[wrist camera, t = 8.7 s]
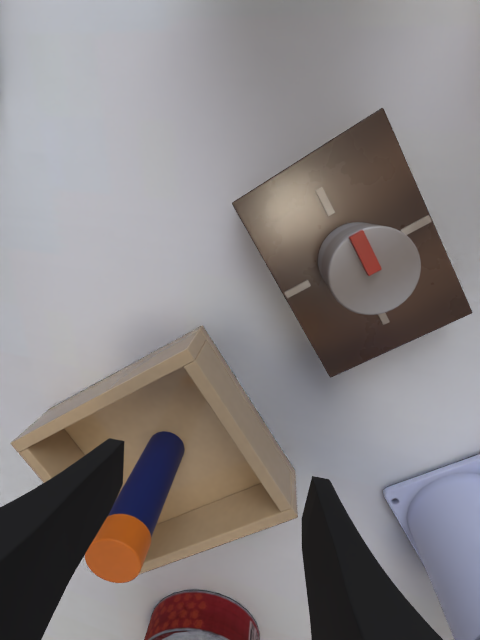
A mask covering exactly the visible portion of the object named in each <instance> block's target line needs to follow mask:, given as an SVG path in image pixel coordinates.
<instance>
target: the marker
mask: <svg viewBox="0 0 480 640" xmlns="http://www.w3.org/2000/svg"><path fill="white" fill-rule="evenodd" d="M184 451H185V448H184V444H183V442H182V440H181V439H180V438H179V437H178V436H177V435H175V434H173V433H171V432H167V431H162V432H158V433H156V434H154V435H153V436H152V437H151V438H150V440H149V442H148V443H147V445H146V447H145V449H144V451H143V452H142V454H141V456H140V458H139V460H138V461H137V463H136V465H135V467H134V468H133V470H132V472H131V474H130V476H129V477H128V479H127V481H126V483H125V484H124V486H123V488H122V490H121V492H120V493H119V495H118V497H117V499H116V501H115V503H114V505H113V507H112V509H111V511H110V513H109V514H108V516H107V518H106V520H105V521H104V523H103V525H102V526H101V528H100V530H99V531H98V533H97V535H96V536H95V538H94V540H93V541H92V543H91V545H90V547H89V548H88V550H87V552H86V553H85V560H86V563H87V565H88V567H89V568H90V569H91V571H92V572H93V573H95V574H96V575H97V576H99V577H100V578H102V579H104V580H107V581H110V582H115V583H124V582H129V581H131V580H133V579H134V578H136V577H137V576H138V574H139V573H140V571H141V568H142V566H143V563H144V561H145V558H146V555H147V553H148V550H149V548H150V545H151V537H152V534H153V532H154V529H155V527H156V524H157V522H158V519H159V516H160V514H161V511H162V509H163V506H164V504H165V501H166V498H167V496H168V493H169V491H170V488H171V486H172V483H173V480H174V478H175V475H176V473H177V470H178V468H179V465H180V462H181V460H182V457H183V455H184Z"/></svg>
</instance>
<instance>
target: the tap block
mask: <svg viewBox="0 0 480 640" xmlns="http://www.w3.org/2000/svg"><path fill="white" fill-rule="evenodd" d="M232 205H233V206H234V208H235V210H236V212H237V213H238V215H239V217H240V219H241V221H242V222H243V224H244V226H245V228H246V229H247V231H248V233H249V235H250V236H251V238H252V240H253V242H254V244H255V245H256V247H257V249H258V251H259V252H260V254H261V256H262V258H263V259H264V261H265V263H266V265H267V267H268V268H269V270H270V272H271V274H272V275H273V277H274V279H275V281H276V282H277V284H278V286H279V288H280V290H281V291H282V293H283V295H284V297H285V298H286V300H287V302H288V304H289V305H290V307H291V309H292V311H293V313H294V314H295V316H296V318H297V320H298V321H299V323H300V325H301V327H302V329H303V330H304V332H305V334H306V336H307V337H308V339H309V341H310V343H311V344H312V346H313V348H314V350H315V352H316V353H317V355H318V357H319V359H320V360H321V362H322V364H323V366H324V367H325V369H326V371H327V373H328V375H329V376H330V377H333V376H335V375H337V374H340V373H342V372H344V371H346V370H348V369H351V368H353V367H355V366H357V365H359V364H362V363H364V362H366V361H368V360H370V359H372V358H375V357H377V356H379V355H381V354H383V353H386V352H388V351H390V350H392V349H394V348H397V347H399V346H401V345H403V344H405V343H408V342H410V341H412V340H414V339H416V338H419V337H421V336H423V335H425V334H427V333H430V332H432V331H434V330H436V329H438V328H441V327H443V326H445V325H447V324H449V323H452V322H454V321H456V320H458V319H460V318H463V317H465V316H467V315H469V314H471V313H472V310H471V308H470V306H469V303H468V301H467V299H466V297H465V294H464V292H463V290H462V287H461V285H460V283H459V281H458V278H457V276H456V274H455V271H454V269H453V267H452V265H451V262H450V260H449V258H448V255H447V253H446V251H445V248H444V246H443V244H442V242H441V239H440V237H439V235H438V232H437V230H436V228H435V226H434V223H433V221H432V219H431V216H430V214H429V212H428V210H427V207H426V205H425V203H424V200H423V198H422V196H421V194H420V191H419V189H418V187H417V184H416V182H415V180H414V178H413V175H412V173H411V171H410V168H409V166H408V164H407V162H406V159H405V157H404V155H403V152H402V150H401V148H400V146H399V143H398V141H397V139H396V136H395V134H394V132H393V130H392V127H391V125H390V123H389V120H388V118H387V116H386V114H385V111H384V109H383V108H381V109H379V110H378V111H376V112H375V113H373V114H371V115H370V116H368V117H367V118H365V119H364V120H362V121H360V122H359V123H357V124H356V125H354V126H353V127H351V128H349V129H348V130H346V131H345V132H343V133H341V134H340V135H338V136H337V137H335V138H334V139H332V140H330V141H329V142H327V143H326V144H324V145H323V146H321V147H319V148H318V149H316V150H315V151H313V152H312V153H310V154H308V155H307V156H305V157H304V158H302V159H300V160H299V161H297V162H296V163H294V164H293V165H291V166H289V167H288V168H286V169H285V170H283V171H282V172H280V173H278V174H277V175H275V176H274V177H272V178H270V179H269V180H267V181H266V182H264V183H263V184H261V185H259V186H258V187H256V188H255V189H253V190H252V191H250V192H248V193H247V194H245V195H244V196H242V197H241V198H239V199H237V200H236V201H234V202H233V203H232ZM352 222H363V223H369V224H375V225H381V226H387V227H391V228H394V229H397V230H399V231H401V232H403V233H404V234H405V235H407V236H408V237H409V238H410V239H411V240H412V242H413V243H414V244H415V246H416V248H417V250H418V253H419V256H420V261H421V271H420V277H419V280H418V283H417V285H416V287H415V289H414V291H413V292H412V294H411V295H410V296H409V297H408V298H407V300H405V301H404V302H403V303H402V304H401V305H399V306H398V307H396V308H394V309H393V310H390V311H388V312H385V313H382V314H376V315H364V314H359V313H355V312H352V311H350V310H348V309H347V308H345V307H344V306H342V305H341V304H340V303H339V302H338V301H337V300H336V298H335V297H334V295H333V294H332V292H331V291H330V289H329V287H328V286H327V284H326V283H325V281H324V279H323V278H322V276H321V274H320V271H319V267H318V254H319V250H320V248H321V245H322V243H323V242H324V240H325V239H326V237H327V236H328V235H329V234H330V233H331V232H332V231H333V230H335V229H336V228H338V227H340V226H342V225H345V224H347V223H352Z"/></svg>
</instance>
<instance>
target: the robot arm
mask: <svg viewBox="0 0 480 640" xmlns="http://www.w3.org/2000/svg"><path fill="white" fill-rule="evenodd" d="M123 467H124V441H122V440H116V439H111V438H109V439H107V440H106V441H104V442H103V443H101V444H100V445H99V446H97V447H96V448H95V449H93V450H92V451H90V452H89V453H88V454H86V455H85V456H83V457H82V458H81V459H79V460H78V461H76V462H75V463H73V464H72V465H71V466H69V467H68V468H66V469H65V470H63V471H62V472H60V473H59V474H57V475H56V476H54V477H53V478H51V479H50V480H48V481H46V482H45V483H43V484H42V485H40V486H38V487H37V488H35V489H33V490H32V491H30V492H28V493H27V494H25V495H23V496H21V497H19V498H17V499H16V500H14V501H12V502H10V503H8V504H6V505H4V506H2V507H0V640H41V639H42V637H43V635H44V632H45V630H46V628H47V626H48V624H49V622H50V620H51V618H52V615H53V613H54V611H55V609H56V607H57V605H58V603H59V601H60V599H61V597H62V595H63V593H64V591H65V589H66V587H67V585H68V583H69V581H70V579H71V577H72V575H73V574H74V572H75V570H76V568H77V567H78V565H79V563H80V562H81V560H82V558H83V557H84V555H85V553H86V552H87V550H88V548H89V547H90V545H91V543H92V541H93V540H94V538H95V536H96V535H97V533H98V531H99V530H100V528H101V526H102V525H103V523H104V521H105V520H106V518H107V516H108V514H109V513H110V511H111V509H112V507H113V505H114V503H115V500H116V498H117V496H118V494H119V491H120V489H121V487H122V485H123ZM383 494H384V497H385V499H386V501H387V503H388V504H389V506H390V508H391V509H392V511H393V513H394V515H395V516H396V518H397V520H398V522H399V523H400V525H401V527H402V529H403V530H404V532H405V534H406V536H407V537H408V539H409V541H410V542H411V544H412V546H413V548H414V549H415V551H416V553H417V555H418V556H419V558H420V560H421V562H422V563H423V565H424V567H425V569H426V571H427V573H428V576H429V578H430V581H431V583H432V585H433V588H434V590H435V593H436V595H437V598H438V600H439V603H440V605H441V608H442V610H443V612H444V615H445V617H446V620H447V622H448V625H449V627H450V630H451V632H452V635H453V637H454V639H455V640H480V454H479V455H476V456H473V457H470V458H467V459H465V460H462V461H459V462H456V463H453V464H451V465H448V466H445V467H442V468H439V469H437V470H434V471H431V472H428V473H425V474H423V475H420V476H417V477H414V478H411V479H409V480H406V481H403V482H400V483H397V484H395V485H392V486H389V487H387V488H385V489H384V491H383ZM394 498H396V499H395V500H392V499H394ZM302 553H303V562H304V571H305V579H306V588H307V596H308V605H309V613H310V623H311V635H312V640H443V639H442V638H441V637H440V636H439V635H438V634H437V633H436V632H435V631H434V630H433V629H432V628H431V627H430V625H429V624H428V623H427V622H426V621H425V620H424V619H423V618H422V617H421V615H420V614H419V613H418V612H417V611H416V610H415V609H414V607H413V606H412V605H411V604H410V603H409V602H408V601H407V599H406V598H405V597H404V596H403V595H402V593H401V592H400V591H399V590H398V588H397V587H396V586H395V585H394V583H393V582H392V581H391V579H390V578H389V577H388V575H387V574H386V573H385V571H384V570H383V569H382V567H381V566H380V564H379V563H378V562H377V560H376V559H375V557H374V556H373V554H372V553H371V551H370V550H369V548H368V547H367V545H366V544H365V542H364V540H363V539H362V537H361V536H360V534H359V532H358V531H357V529H356V527H355V526H354V524H353V522H352V521H351V519H350V517H349V515H348V514H347V512H346V510H345V508H344V506H343V505H342V503H341V501H340V499H339V497H338V495H337V493H336V491H335V489H334V487H333V485H332V483H331V482H330V480H329V479H324V478H319V477H313V476H312V480H311V484H310V488H309V492H308V496H307V500H306V504H305V508H304V512H303V516H302Z"/></svg>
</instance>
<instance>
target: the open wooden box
mask: <svg viewBox="0 0 480 640" xmlns="http://www.w3.org/2000/svg"><path fill="white" fill-rule="evenodd" d="M162 431H167V432H171V433H173V434H175V435H177V436H178V437H179V438H180V439H181V440H182V442H183V444H184V448H185V451H184V455H183V457H182V460H181V462H180V465H179V468H178V470H177V473H176V475H175V478H174V480H173V483H172V486H171V488H170V491H169V493H168V496H167V498H166V501H165V504H164V506H163V509H162V511H161V514H160V516H159V519H158V522H157V524H156V527H155V529H154V532H153V534H152V537H151V545H150V548H149V550H148V553H147V555H146V558H145V561H144V563H143V566H142V568H141V571H140V573H139V574H142V573H144V572H147V571H150V570H153V569H156V568H158V567H161V566H164V565H167V564H170V563H172V562H175V561H178V560H181V559H183V558H186V557H189V556H192V555H195V554H197V553H200V552H203V551H206V550H209V549H211V548H214V547H217V546H220V545H222V544H225V543H228V542H231V541H234V540H236V539H239V538H242V537H245V536H248V535H250V534H253V533H256V532H259V531H261V530H264V529H267V528H270V527H273V526H275V525H278V524H281V523H284V522H287V521H289V520H292V519H295V518H297V517H298V512H297V496H296V480H295V479H296V477H295V470H294V469H293V467H292V466H291V464H290V462H289V461H288V459H287V458H286V456H285V455H284V453H283V451H282V450H281V448H280V447H279V445H278V444H277V442H276V440H275V439H274V437H273V436H272V434H271V432H270V431H269V429H268V428H267V426H266V425H265V423H264V421H263V420H262V418H261V417H260V415H259V414H258V412H257V410H256V409H255V407H254V406H253V404H252V403H251V401H250V399H249V398H248V396H247V395H246V393H245V392H244V390H243V388H242V387H241V385H240V384H239V382H238V381H237V379H236V377H235V376H234V374H233V373H232V371H231V370H230V368H229V366H228V365H227V363H226V362H225V360H224V359H223V357H222V355H221V354H220V352H219V351H218V349H217V348H216V346H215V344H214V343H213V341H212V340H211V338H210V337H209V335H208V333H207V332H206V330H205V329H204V327H203V326H200V327H198V328H196V329H195V330H193V331H191V332H189V333H187V334H185V335H184V336H182V337H180V338H178V339H176V340H175V341H173V342H171V343H169V344H167V345H165V346H164V347H162V348H160V349H158V350H156V351H154V352H153V353H151V354H149V355H147V356H145V357H143V358H142V359H140V360H138V361H136V362H134V363H133V364H131V365H129V366H127V367H125V368H123V369H122V370H120V371H118V372H116V373H114V374H112V375H111V376H109V377H107V378H105V379H103V380H101V381H100V382H98V383H96V384H94V385H92V386H91V387H89V388H87V389H85V390H83V391H81V392H80V393H78V394H76V395H74V396H72V397H70V398H69V399H67V400H65V401H63V402H61V403H60V404H58V405H56V406H54V407H52V408H50V409H49V410H48V411H47V412H45V413H44V414H43V415H42V416H41V417H40V418H39V419H37V420H36V421H35V422H34V423H33V424H32V425H31V426H29V427H28V428H27V429H26V430H25V431H24V432H22V433H21V434H20V435H19V436H18V437H17V438H16V439H14V440H13V441H12V442H11V445H12V446H13V447H14V448H15V450H16V451H17V452H19V454H20V455H21V456H22V458H23V459H24V460H25V461H26V462H27V464H28V465H29V466H30V467H31V468H32V470H33V471H34V472H35V473H36V474H37V475H38V477H39V478H40V479H41V480H42V481H43V483H45V482H46V481H48V480H50V479H51V478H53V477H54V476H56V475H57V474H59V473H60V472H62V471H63V470H65V469H66V468H68V467H69V466H71V465H72V464H73V463H75V462H76V461H78V460H79V459H81V458H82V457H83V456H85V455H86V454H88V453H89V452H90V451H92V450H93V449H95V448H96V447H97V446H99V445H100V444H101V443H103V442H104V441H106V440H107V439H109V438H111V439H116V440H122V441H124V467H123V485H122V487H121V489H120V491H119V493H120V492H121V490H122V488H123V486H124V484H125V483H126V481H127V479H128V477H129V476H130V474H131V472H132V470H133V468H134V467H135V465H136V463H137V461H138V460H139V458H140V456H141V454H142V452H143V451H144V449H145V447H146V445H147V443H148V442H149V440H150V438H151V437H152V436H153V435H154V434H156V433H158V432H162ZM118 495H119V494H118ZM117 497H118V496H117ZM116 499H117V498H116ZM115 501H116V500H115ZM139 574H138V575H139Z"/></svg>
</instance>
